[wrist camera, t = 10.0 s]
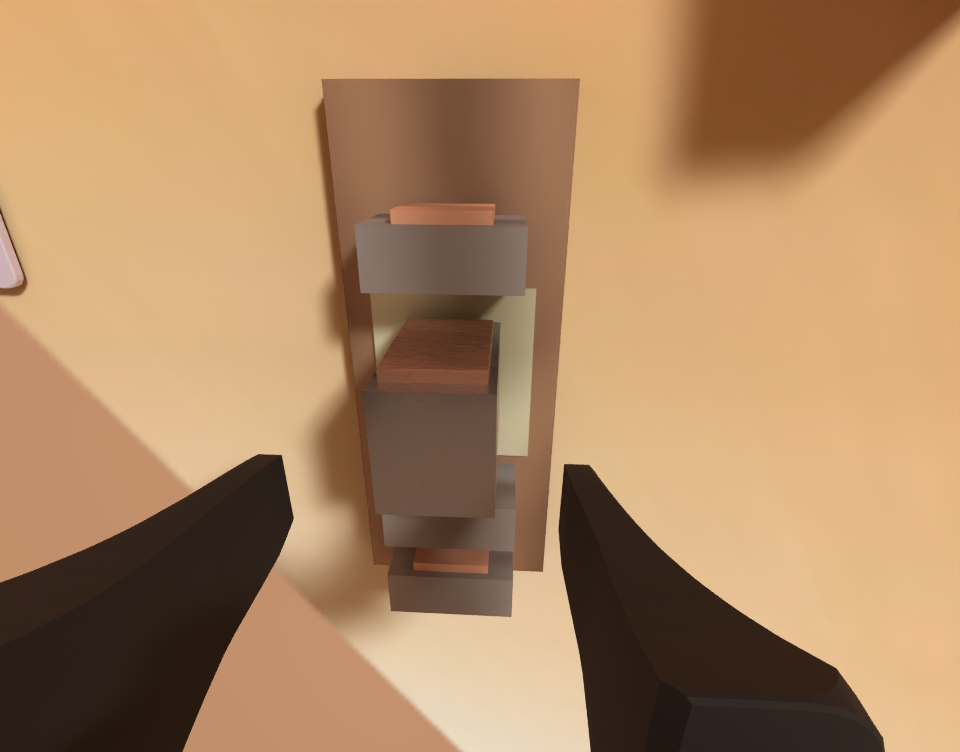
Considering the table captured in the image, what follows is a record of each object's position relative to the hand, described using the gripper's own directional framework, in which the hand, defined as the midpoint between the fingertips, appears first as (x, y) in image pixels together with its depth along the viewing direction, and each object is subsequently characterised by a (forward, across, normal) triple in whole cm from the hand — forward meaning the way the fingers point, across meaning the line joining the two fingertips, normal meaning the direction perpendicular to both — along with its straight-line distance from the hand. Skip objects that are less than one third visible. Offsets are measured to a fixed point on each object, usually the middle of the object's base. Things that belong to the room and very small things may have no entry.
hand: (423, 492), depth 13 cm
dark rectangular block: (+7, 0, 0) cm, 7 cm away
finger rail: (+8, 0, 0) cm, 8 cm away
